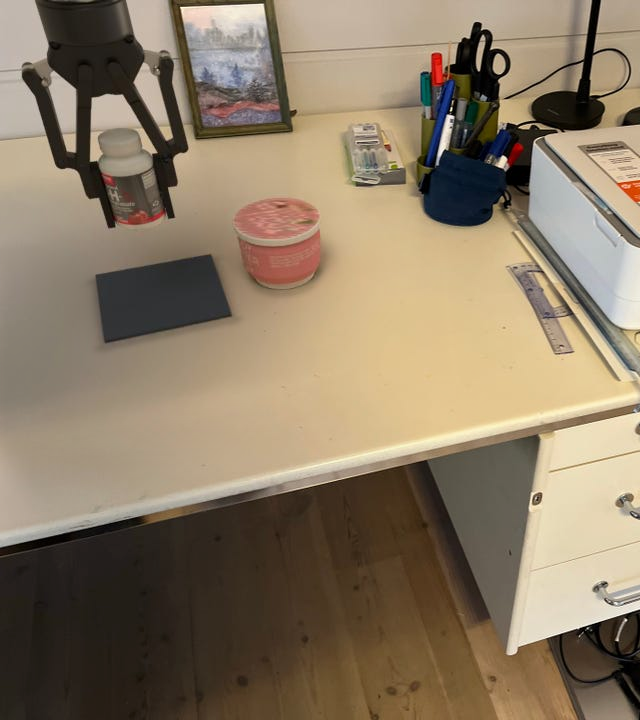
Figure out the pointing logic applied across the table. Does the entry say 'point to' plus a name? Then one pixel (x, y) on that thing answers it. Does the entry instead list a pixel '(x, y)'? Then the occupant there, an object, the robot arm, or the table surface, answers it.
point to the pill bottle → (130, 180)
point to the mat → (160, 297)
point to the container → (279, 241)
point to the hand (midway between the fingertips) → (140, 216)
